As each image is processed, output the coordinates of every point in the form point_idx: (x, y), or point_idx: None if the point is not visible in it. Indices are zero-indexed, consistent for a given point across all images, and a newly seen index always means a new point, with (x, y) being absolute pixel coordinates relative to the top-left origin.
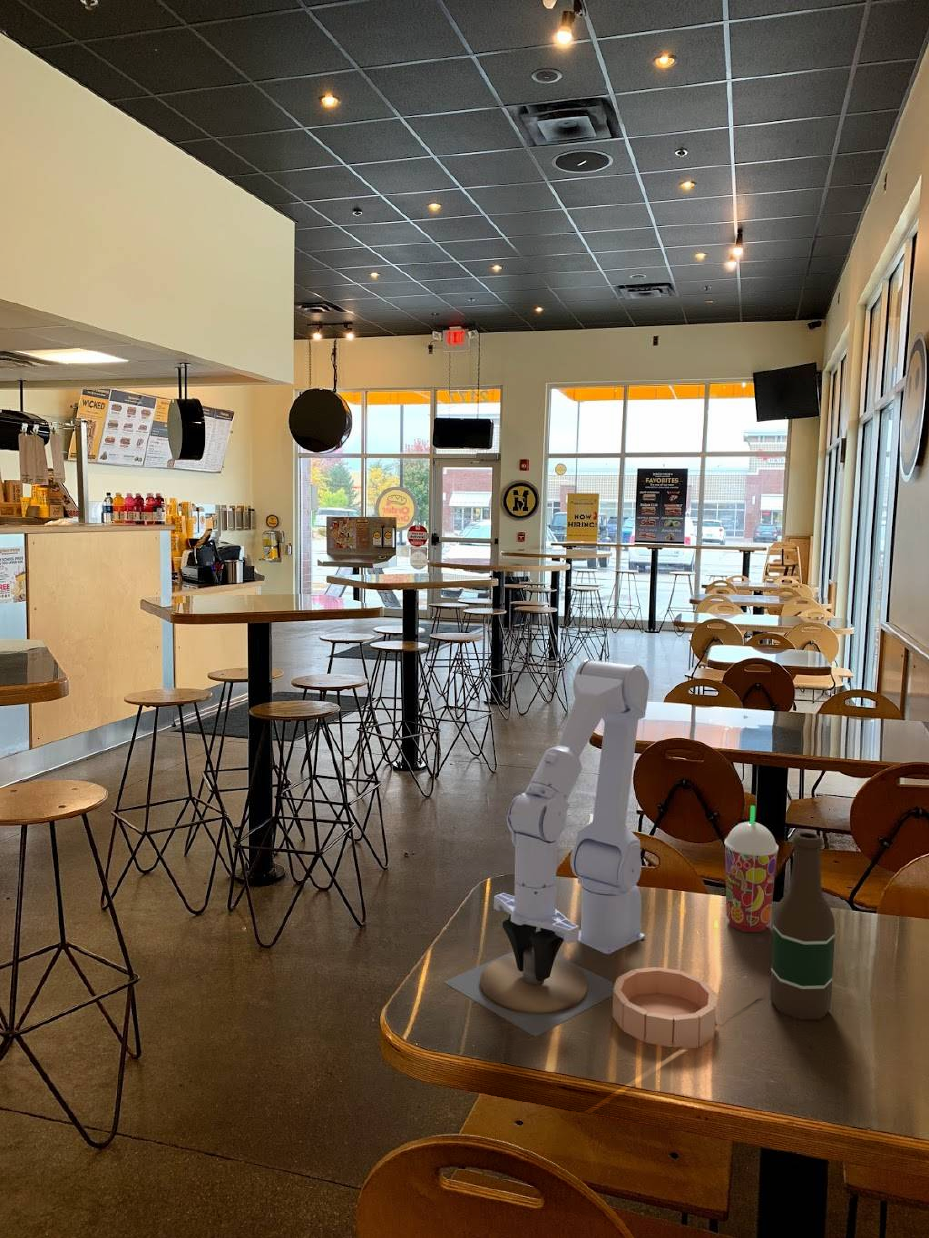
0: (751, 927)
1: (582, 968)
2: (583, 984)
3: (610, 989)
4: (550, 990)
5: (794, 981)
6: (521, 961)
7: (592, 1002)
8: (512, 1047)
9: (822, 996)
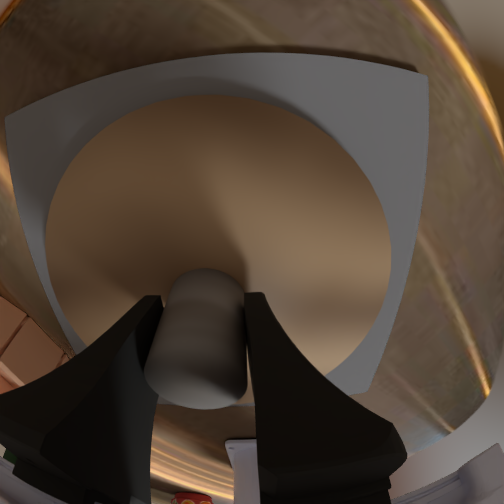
0: (177, 496)
1: None
2: None
3: None
4: (124, 295)
5: None
6: (246, 321)
7: (70, 331)
8: (24, 49)
9: None
